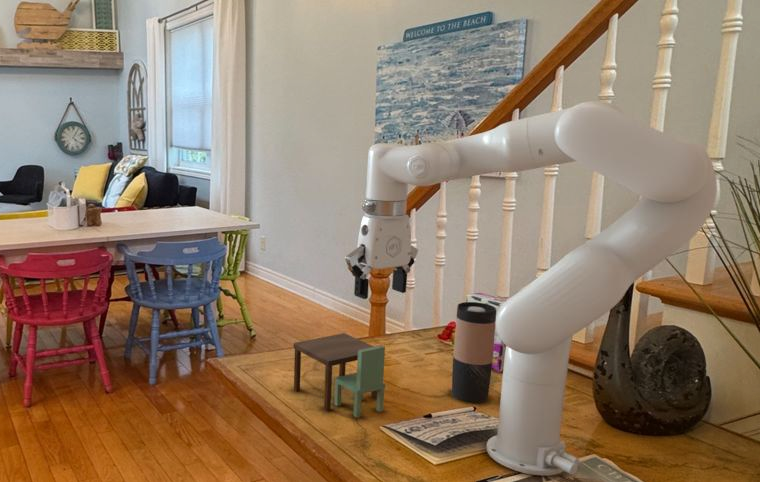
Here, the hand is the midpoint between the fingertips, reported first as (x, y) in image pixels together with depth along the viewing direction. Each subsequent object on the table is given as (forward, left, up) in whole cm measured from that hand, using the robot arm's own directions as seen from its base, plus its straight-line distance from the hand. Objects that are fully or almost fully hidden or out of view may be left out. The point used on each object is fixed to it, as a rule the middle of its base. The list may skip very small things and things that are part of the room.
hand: (380, 294), depth 125 cm
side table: (+10, +2, -25) cm, 27 cm away
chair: (+3, +2, -25) cm, 25 cm away
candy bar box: (+7, -42, -25) cm, 50 cm away
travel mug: (-4, -23, -25) cm, 35 cm away
